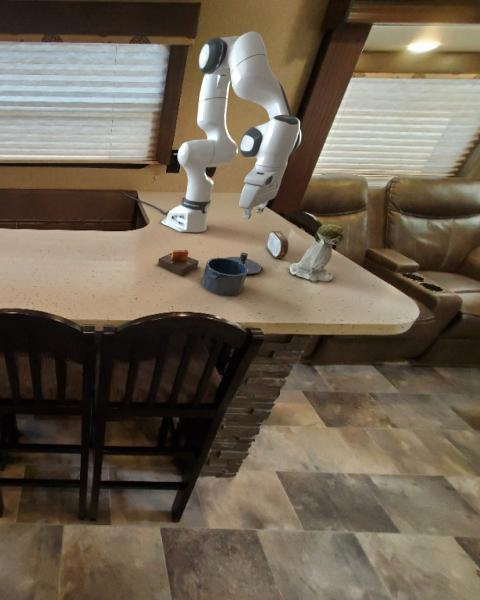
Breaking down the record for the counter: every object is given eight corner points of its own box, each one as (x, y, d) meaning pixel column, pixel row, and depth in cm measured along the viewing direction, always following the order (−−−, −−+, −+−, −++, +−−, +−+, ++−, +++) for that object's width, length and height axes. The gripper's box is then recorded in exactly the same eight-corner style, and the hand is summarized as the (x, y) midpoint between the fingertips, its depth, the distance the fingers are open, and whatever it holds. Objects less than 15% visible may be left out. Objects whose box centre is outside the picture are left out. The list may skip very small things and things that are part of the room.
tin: (283, 262, 115) (292, 242, 110) (275, 261, 116) (283, 241, 111) (271, 246, 127) (278, 227, 123) (263, 245, 128) (270, 227, 123)
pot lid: (214, 266, 113) (217, 252, 110) (232, 256, 120) (236, 243, 117) (249, 279, 104) (254, 266, 101) (266, 268, 111) (271, 254, 108)
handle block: (157, 265, 114) (158, 258, 112) (173, 258, 119) (174, 250, 117) (181, 276, 107) (183, 268, 105) (197, 267, 112) (199, 260, 110)
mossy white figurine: (281, 266, 112) (301, 219, 102) (313, 264, 113) (335, 218, 102) (303, 282, 102) (328, 232, 92) (338, 280, 103) (366, 230, 93)
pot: (189, 286, 101) (194, 267, 97) (217, 270, 110) (223, 252, 106) (224, 303, 93) (231, 282, 89) (251, 284, 102) (258, 264, 98)
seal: (171, 260, 111) (173, 251, 109) (171, 258, 112) (172, 249, 110) (186, 260, 110) (188, 251, 108) (185, 258, 112) (187, 249, 110)
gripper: (271, 168, 103) (257, 207, 111) (242, 177, 92) (229, 219, 101) (291, 171, 99) (275, 211, 107) (262, 181, 88) (247, 225, 97)
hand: (252, 215), depth 104 cm, fingers open, 8 cm apart
